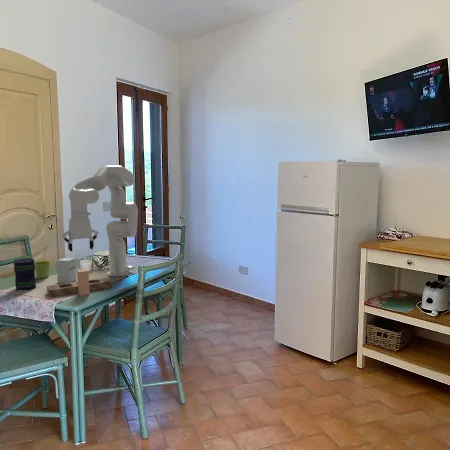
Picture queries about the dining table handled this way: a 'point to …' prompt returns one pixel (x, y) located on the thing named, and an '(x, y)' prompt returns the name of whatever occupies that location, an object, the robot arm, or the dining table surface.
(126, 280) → the dining table surface
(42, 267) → the plant pot
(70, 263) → the supplement box
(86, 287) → the peg
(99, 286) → the rail
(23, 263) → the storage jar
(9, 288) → the dining table surface
